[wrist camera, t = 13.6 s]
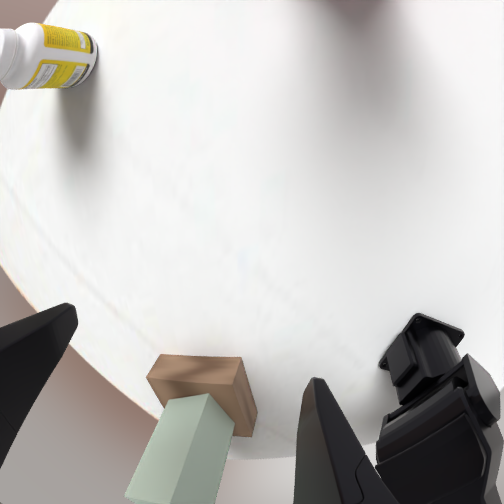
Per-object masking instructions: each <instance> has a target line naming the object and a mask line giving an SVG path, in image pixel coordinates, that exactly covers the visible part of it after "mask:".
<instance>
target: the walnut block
mask: <svg viewBox="0 0 504 504" xmlns="http://www.w3.org/2000/svg"><path fill="white" fill-rule="evenodd" d="M146 378H147V380H148V382H149V384H150V385H151V387H152V389H153V391H154V392H155V394H156V396H157V397H158V399H159V401H160V403H161V404H162V406H163V407H164V409H165V407H166V405H167V402H168V400H170V399H177V398H184V397H190V396H196V395H202V394H207V393H209V394H210V395H211V396H212V397H213V399H214V400H215V401H216V402H217V403H218V404H219V406H220V407H221V408H222V409H223V410H224V411H225V412H226V414H227V415H228V416H229V417H230V418H231V419H232V420H233V421H234V423H235V426H234V430H233V434H232V436H242V437H252V433H253V429H254V425H255V421H256V417H257V409H256V405H255V402H254V399H253V395H252V392H251V389H250V385H249V382H248V379H247V375H246V372H245V368H244V365H243V361H242V358H241V357H207V356H183V355H166V354H160V356H159V357H158V359H157V360H156V362H155V364H154V365H153V367H152V368H151V370H150V372H149V373H148V375H147V376H146Z"/></svg>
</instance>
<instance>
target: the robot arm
mask: <svg viewBox="0 0 504 504" xmlns="http://www.w3.org/2000/svg"><path fill="white" fill-rule="evenodd" d="M418 318H420V319H419V320H417V319H418ZM77 326H78V318H77V313H76V308H75V306H74V305H72V304H69V303H63V304H60V305H57V306H55V307H52V308H50V309H47V310H44V311H42V312H39V313H37V314H34V315H32V316H29V317H26V318H24V319H21V320H19V321H16V322H13V323H11V324H8V325H6V326H3V327H1V328H0V468H1V466H2V464H3V462H4V460H5V458H6V456H7V453H8V451H9V449H10V447H11V445H12V443H13V441H14V439H15V437H16V435H17V433H18V431H19V429H20V427H21V426H22V424H23V422H24V420H25V418H26V416H27V414H28V412H29V411H30V409H31V407H32V406H33V403H34V402H35V400H36V399H37V397H38V395H39V393H40V392H41V390H42V388H43V387H44V385H45V383H46V382H47V380H48V378H49V377H50V375H51V373H52V372H53V370H54V368H55V367H56V365H57V364H58V362H59V361H60V359H61V357H62V356H63V354H64V352H65V350H66V348H67V346H68V344H69V342H70V340H71V338H72V336H73V334H74V332H75V330H76V329H77ZM464 335H465V334H464V332H463V330H461V329H459V328H456V327H454V326H451V325H449V324H446V323H444V322H441V321H439V320H436V319H434V318H431V317H429V316H426V315H424V314H421V313H416V314H415V315H414V316H413V317H412V318H411V320H410V321H409V323H408V324H407V326H406V327H405V328H404V330H403V331H402V332H401V333H400V334H399V336H398V337H397V338H396V340H395V341H394V342H393V344H392V345H391V346H390V348H389V349H388V350H387V352H386V354H385V355H384V356H383V358H382V359H381V360H380V362H379V366H380V368H381V369H384V370H388V371H390V373H391V378H392V383H393V386H395V387H396V389H397V394H398V399H399V404H400V405H403V406H402V407H400V408H399V409H397V410H396V411H394V412H392V413H391V414H388V415H386V416H384V418H383V423H382V428H381V432H380V437H379V440H378V441H377V442H376V460H377V465H376V466H375V469H376V470H377V472H378V474H379V475H380V476H379V475H378V474H377V472H376V470H375V469H374V467H373V465H372V464H371V462H370V460H369V458H368V457H367V455H365V451H364V450H363V448H362V446H361V444H360V443H359V441H358V439H357V437H356V435H355V434H354V432H353V430H352V428H351V426H350V425H349V423H348V421H347V419H346V417H345V416H344V414H343V412H342V410H341V409H340V407H339V405H338V403H337V401H336V400H335V398H334V396H333V394H332V392H331V391H330V389H329V387H328V385H327V384H326V382H325V380H324V379H322V378H316V377H313V378H311V380H310V382H309V383H308V385H307V387H306V389H305V391H304V393H303V398H302V405H301V412H300V418H299V424H298V431H297V446H296V468H295V486H294V487H295V488H294V503H293V504H502V503H501V500H500V497H499V494H498V491H497V487H496V479H497V475H498V470H499V466H500V460H501V456H502V450H503V444H504V440H503V437H502V434H501V432H500V429H499V427H498V425H497V421H498V420H499V419H500V392H499V390H498V388H497V386H496V385H495V383H494V381H493V379H492V377H491V376H490V374H489V373H488V372H487V371H486V370H485V369H484V368H483V367H482V366H481V365H480V364H479V363H478V362H477V361H475V360H474V359H473V358H472V357H471V356H470V355H469V354H468V353H467V354H466V355H465V356H464V357H463V358H462V360H461V357H460V355H459V353H458V351H457V349H456V347H457V345H458V344H459V343H460V341H461V340H462V339H463V338H464ZM384 363H386V364H384ZM380 477H381V478H380ZM0 504H2V503H0Z"/></svg>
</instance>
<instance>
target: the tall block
mask: <svg viewBox="0 0 504 504" xmlns="http://www.w3.org/2000/svg"><path fill="white" fill-rule="evenodd" d="M234 426H235V423H234V421H233V420H232V419H231V418H230V417H229V416H228V415H227V414H226V412H225V411H224V410H223V409H222V408H221V407H220V406H219V404H218V403H217V402H216V401H215V400H214V399H213V397H212V396H211V395H210V394H209V393H207V394H202V395H196V396H190V397H184V398H177V399H170V400H168V402H167V405H166V407H165V409H164V411H163V413H162V415H161V417H160V419H159V422H158V424H157V426H156V428H155V430H154V433H153V434H152V437H151V439H150V441H149V443H148V445H147V447H146V449H145V452H144V454H143V456H142V458H141V460H140V462H139V464H138V467H137V469H136V471H135V473H134V475H133V478H132V480H131V482H130V484H129V486H128V489H127V491H126V493H125V495H124V496H125V497H126V498H128V499H129V500H131V501H132V502H134V503H135V504H215V500H216V497H217V493H218V489H219V485H220V481H221V477H222V473H223V470H224V466H225V462H226V458H227V454H228V450H229V446H230V442H231V438H232V434H233V430H234Z"/></svg>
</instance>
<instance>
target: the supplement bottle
mask: <svg viewBox="0 0 504 504" xmlns="http://www.w3.org/2000/svg"><path fill="white" fill-rule="evenodd" d="M96 56H97V45H96V41H95V39H94V38H93V37H92V36H91V35H90V34H87V33H84V32H80V31H76V30H70V29H66V28H61V27H56V26H50V25H44V24H39V23H27V24H25V25H22V26H20V27H19V28H18V29H16V30H12V29H0V81H1V83H2V84H3V85H4V86H5V87H6V88H8V89H15V90H17V89H39V88H72V87H75V86H77V85H79V84H80V83H82V82H83V81H84V80H85V79H86V78H87V77H88V75H89V74H90V72H91V71H92V69H93V66H94V64H95V61H96Z"/></svg>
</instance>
